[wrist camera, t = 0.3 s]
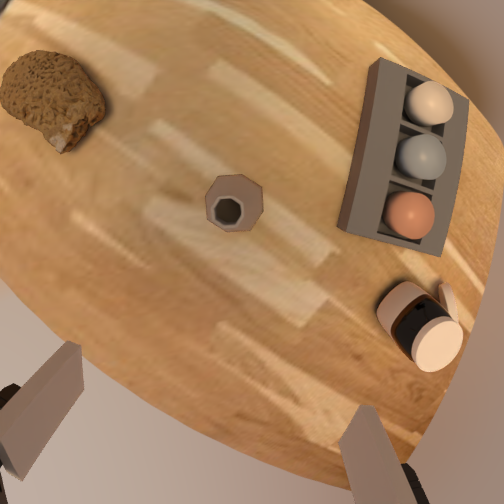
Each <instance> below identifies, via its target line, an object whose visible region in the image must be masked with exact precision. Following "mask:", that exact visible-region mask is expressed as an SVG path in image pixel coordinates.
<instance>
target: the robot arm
mask: <svg viewBox="0 0 504 504" xmlns="http://www.w3.org/2000/svg"><path fill="white" fill-rule="evenodd" d="M83 390H84V381H83V369H82V352H81V345H78V344H76V343H73V342H71V341H68V340H67V341H66V342H65V343H64V344H63V346H61V347H60V348H59V349H58V350H57V351H56V352H55V354H53V355H52V356H51V357H50V358H49V360H47V361H46V362H45V363H44V365H43V366H41V368H40V369H39V370H38V371H37V372H36V373H35V374H34V375H33V376H32V377H31V378H30V379H29V380H28V381H27V382H26V383H25V384H24V385H23V386H22V387H20V386H18V385H16V384H14V383H13V384H11V385H9V386H7V387H5V388H3V389H2V390H1V391H0V467H1V466H2V465H3V466H4V468H5V469H6V471H7V472H8V473H9V474H11V475H12V476H14V477H15V478H17V479H19V480H20V481H23V479H24V478H25V476H26V475H27V473H28V472H29V470H30V468H31V467H32V465H33V464H34V462H35V461H36V459H37V457H38V456H39V455H40V453H41V451H42V450H43V448H44V447H45V445H46V444H47V442H48V441H49V439H50V438H51V436H52V435H53V433H54V432H55V431H56V429H57V428H58V426H59V425H60V423H61V422H62V420H63V419H64V417H65V416H66V415H67V413H68V412H69V410H70V409H71V407H72V406H73V404H74V403H75V401H76V400H77V399H78V397H79V396H80V395H81V393H82V392H83ZM338 443H339V447H340V450H341V454H342V457H343V461H344V464H345V468H346V472H347V475H348V479H349V482H350V486H351V490H352V493H353V497H354V501H355V504H429V501H428V499H427V497H426V495H425V492H424V490H423V488H421V484H420V481H418V477H417V475H416V473H415V471H414V470H413V469H412V468H411V467H410V466H409V465H408V464H407V463H405V464H400V462H399V460H398V457H397V455H396V453H395V451H394V449H393V446H392V444H391V442H390V440H389V438H388V435H387V433H386V431H385V429H384V427H383V425H382V422H381V420H380V418H379V416H378V414H377V412H376V410H375V408H374V406H370V405H360V406H359V408H358V410H357V411H356V413H355V415H354V417H353V418H352V420H351V422H350V424H349V425H348V427H347V429H346V431H345V432H344V434H343V436H342V437H341V439H340V440H339V442H338ZM0 504H8V502H7V498H6V495H5V490H4V486H3V481H2V477H1V473H0Z"/></svg>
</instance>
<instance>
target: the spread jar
mask: <svg viewBox="0 0 504 504" xmlns="http://www.w3.org/2000/svg"><path fill="white" fill-rule="evenodd" d="M438 290H439V299H440V303H439V302H438V301H437V300H435V299H434V298H433V297H432V296H431V295H429V294H428V293H427V292H425V291H424V290H423V289H421V288H420V287H419V286H417V285H416V284H414V283H412V282H410V281H405V282H402V283H400V284H399V285H397V286H396V287H394V288H393V289H392V290H391V291H390V292H389V293H388V294H387V295H386V296H385V297H384V299H383V300H382V301H381V303H380V305H379V307H378V309H377V318H378V320H379V322H380V324H381V325H382V327H383V328H384V329H385V331H386V332H387V333H388V334H389V336H390V337H391V338H392V339H393V341H394V342H395V343H396V345H397V346H398V347H399V349H400V350H401V351H402V352H403V353H404V354H405V355H406V356H407V357H408V358H409V359H410V360H411V361H413V362H415V363H416V364H417V365H418V367H419V368H420V369H421V370H423V371H426V372H433V371H437V370H440V369H441V368H443V367H445V366H446V365H448V364H449V363H450V362H451V361H452V360H453V359H454V357H455V356H456V355H457V353H458V351H459V349H460V347H461V344H462V340H463V332H462V328H461V326H460V325H459V324H458V312H457V306H456V301H455V297H454V294H453V291H452V288H451V286H450V284H449V283H448V282H446V283H443V284H440V285H439V287H438Z"/></svg>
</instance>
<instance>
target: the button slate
mask: <svg viewBox="0 0 504 504" xmlns="http://www.w3.org/2000/svg"><path fill="white" fill-rule="evenodd" d="M395 161H396V164H397V167H398V169H399V170H400V172H401V173H402V174H403V175H405V176H406V177H408V178H412V179H427V180H432V179H436V178H438V177H439V176H440V175H441V174H442V173H443V172H444V170H445V167H446V152H445V149H444V147H443V145H442V144H441V142H440V141H439V140H438V139H437V138H436V137H434V136H432V135H429V134H422V135H418V136H413V137H408V138H405V139H403V140H401V141H400V142H399V144H398V145H397V147H396V152H395Z"/></svg>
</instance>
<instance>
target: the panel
mask: <svg viewBox="0 0 504 504" xmlns="http://www.w3.org/2000/svg"><path fill="white" fill-rule="evenodd" d="M427 81H433V80H431V79H429V78H427V77H425V76H423V75H421V74H419V73H417V72H414V71H412V70H410V69H408V68H405V67H403V66H401V65H399V64H396V63H394V62H391V61H389V60H386V59H384V58H381V57H380V58H379V59H378V60H377V61H375V62H374V63H373V64H372V65H371V66H370V67H369V73H368V79H367V85H366V92H365V97H364V103H363V109H362V114H361V120H360V125H359V130H358V136H357V141H356V145H355V150H354V155H353V160H352V165H351V169H350V174H349V178H348V183H347V187H346V191H345V195H344V200H343V204H342V208H341V212H340V216H339V220H338V224H337V227H338V228H340V229H341V230H343V231H345V232H347V233H351V234H355V235H359V236H363V237H367V238H371V239H374V240H378V241H382V242H386V243H390V244H394V245H397V246H401V247H405V248H408V249H412V250H416V251H419V252H423V253H427V254H430V255H434V256H437V257H441V254H442V250H443V247H444V243H445V240H446V236H447V232H448V228H449V224H450V220H451V216H452V212H453V208H454V203H455V199H456V194H457V189H458V184H459V179H460V173H461V167H462V161H463V155H464V148H465V140H466V132H467V122H468V111H469V100H468V99H467V98H465V97H463V96H461V95H460V94H458V93H456V92H454V91H452V90H451V89H449V88H447V87H445V86H444V87H445V88H446V90H447V91H448V92H449V94H450V96H451V98H452V101H453V107H454V108H453V114H452V117H451V118H450V119H449V120H448V121H447V122H445V123H440V124H436V125H432V126H428V127H421V126H418V125H416V124H415V123H413V122H412V121H411V120H410V119H409V117H408V116H407V114H406V112H405V109H404V97H405V95H406V93H407V92H408V91H409V90H411V89H413V88H415V87H417V86H419V85H421V84H423V83H425V82H427ZM442 86H443V85H442ZM422 134H429V135H432V136H434V137H436V138H437V139H438V140H439V141H440V142H441V144H442V145H443V147H444V149H445V152H446V167H445V170H444V172H443V173H442V174H441V175H440V176H439V177H438V178H436V179H432V180H427V179H412V178H408V177H406V176H405V175H403V174H402V173H401V172H400V170H399V169H398V167H397V164H396V161H395V152H396V147H397V145H398V144H399V142H400V141H401V140H403V139H405V138H408V137H413V136H418V135H422ZM397 191H406V192H414V193H420V194H423V195H425V196H426V197H427V198H428V199H429V200H430V201H431V203H432V205H433V208H434V213H435V217H434V223H433V226H432V228H431V230H430V231H429V232H428V233H427V234H426V235H425V236H424V237H422V238H420V239H410V238H408V237H405V236H403V235H401V234H398V233H396V232H394V231H392V230H390V229H389V228H388V227H387V225H386V224H385V222H384V219H383V207H384V203H385V201H386V199H387V198H388V197H389V196H390V195H391V194H392V193H394V192H397Z"/></svg>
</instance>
